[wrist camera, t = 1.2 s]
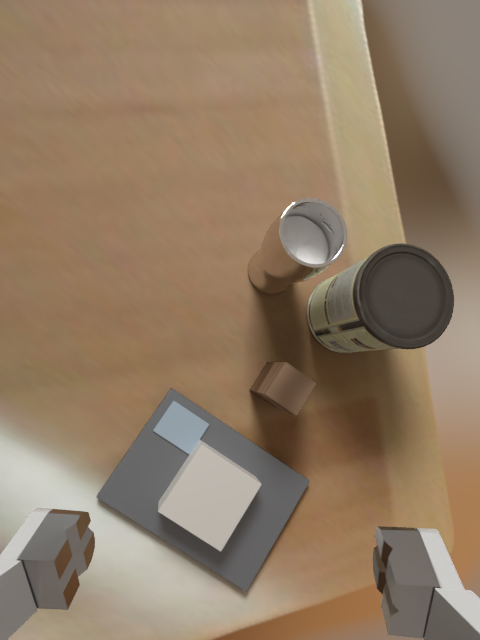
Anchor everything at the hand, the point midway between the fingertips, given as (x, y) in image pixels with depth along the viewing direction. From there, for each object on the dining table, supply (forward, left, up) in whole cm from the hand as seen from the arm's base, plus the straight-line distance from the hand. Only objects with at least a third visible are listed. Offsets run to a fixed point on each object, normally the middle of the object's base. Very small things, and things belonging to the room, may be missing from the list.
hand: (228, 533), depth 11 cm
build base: (+8, -6, -36) cm, 37 cm away
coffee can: (+11, +21, -36) cm, 43 cm away
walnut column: (+8, +8, -36) cm, 38 cm away
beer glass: (0, +20, -36) cm, 42 cm away
